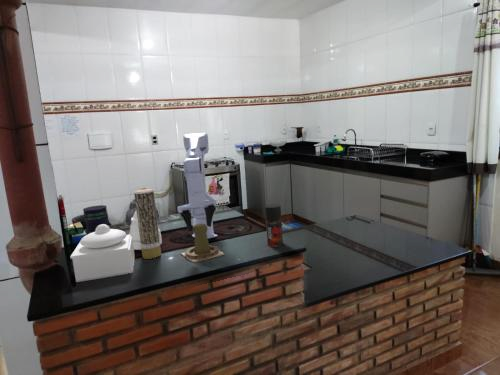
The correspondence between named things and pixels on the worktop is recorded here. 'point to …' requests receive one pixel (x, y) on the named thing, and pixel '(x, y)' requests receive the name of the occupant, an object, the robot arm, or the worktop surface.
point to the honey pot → (135, 233)
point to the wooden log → (147, 223)
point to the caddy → (200, 257)
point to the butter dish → (103, 254)
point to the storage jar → (95, 217)
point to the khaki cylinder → (201, 239)
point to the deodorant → (274, 225)
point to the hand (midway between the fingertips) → (199, 228)
